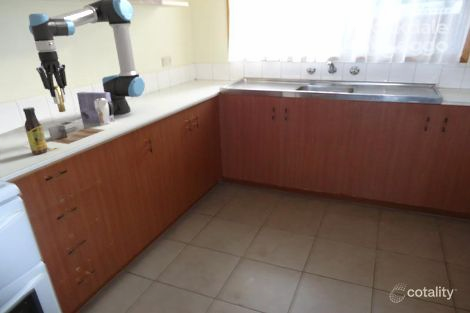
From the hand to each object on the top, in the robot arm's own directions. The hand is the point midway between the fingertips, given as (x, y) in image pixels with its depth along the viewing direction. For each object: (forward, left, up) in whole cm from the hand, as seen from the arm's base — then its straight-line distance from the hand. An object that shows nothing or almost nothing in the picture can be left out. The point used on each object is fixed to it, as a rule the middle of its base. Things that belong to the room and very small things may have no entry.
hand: (60, 102), depth 154 cm
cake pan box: (-25, -6, -18) cm, 31 cm away
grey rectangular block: (+3, 0, -16) cm, 16 cm away
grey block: (-3, 0, -16) cm, 17 cm away
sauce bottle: (+19, +5, -18) cm, 27 cm away
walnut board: (-1, +4, -18) cm, 18 cm away
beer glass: (-21, +3, -18) cm, 28 cm away
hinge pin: (0, 0, -4) cm, 4 cm away
